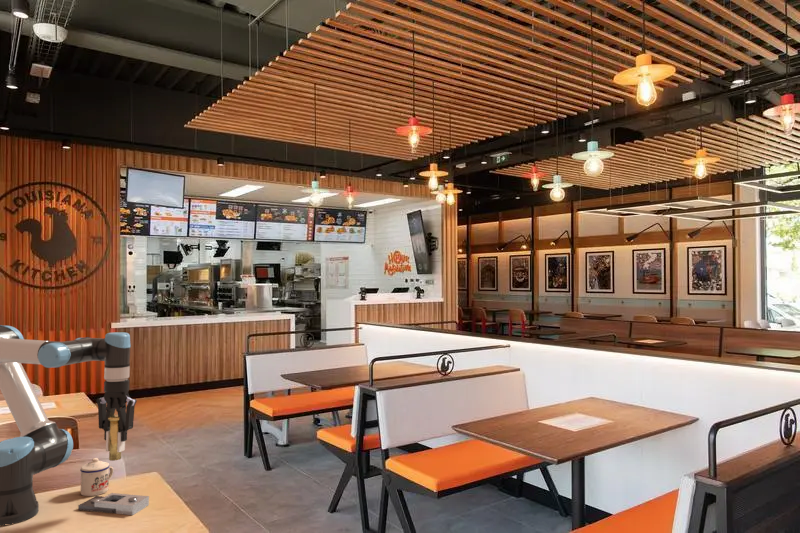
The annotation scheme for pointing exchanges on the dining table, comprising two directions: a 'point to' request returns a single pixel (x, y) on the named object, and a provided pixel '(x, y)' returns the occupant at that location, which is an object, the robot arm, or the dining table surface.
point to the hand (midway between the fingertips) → (115, 450)
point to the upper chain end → (123, 503)
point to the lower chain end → (90, 507)
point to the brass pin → (114, 438)
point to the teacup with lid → (95, 477)
